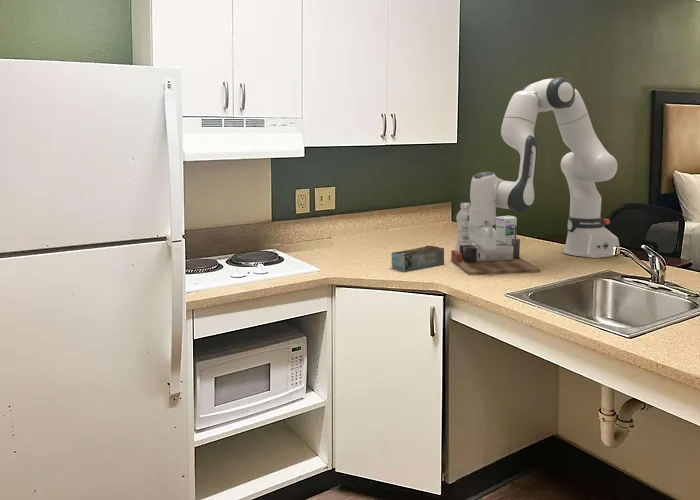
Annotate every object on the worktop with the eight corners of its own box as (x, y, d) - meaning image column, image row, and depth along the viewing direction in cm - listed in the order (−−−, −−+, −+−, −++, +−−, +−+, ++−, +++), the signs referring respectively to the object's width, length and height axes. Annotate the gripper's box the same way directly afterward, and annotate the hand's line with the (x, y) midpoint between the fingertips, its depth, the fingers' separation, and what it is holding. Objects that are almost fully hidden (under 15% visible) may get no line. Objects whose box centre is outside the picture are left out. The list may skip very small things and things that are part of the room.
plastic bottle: (473, 256, 239) (474, 204, 235) (455, 255, 240) (456, 204, 236) (473, 252, 245) (474, 202, 241) (455, 252, 246) (456, 201, 242)
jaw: (510, 258, 229) (510, 244, 228) (513, 260, 226) (513, 246, 225) (463, 260, 227) (463, 246, 226) (465, 262, 224) (466, 248, 223)
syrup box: (504, 255, 240) (505, 218, 237) (494, 252, 245) (495, 216, 242) (516, 254, 242) (517, 216, 239) (506, 251, 247) (507, 214, 244)
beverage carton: (390, 268, 222) (390, 250, 221) (430, 261, 233) (430, 243, 232) (404, 272, 216) (404, 254, 215) (445, 265, 227) (445, 247, 225)
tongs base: (516, 258, 235) (517, 237, 233) (539, 271, 213) (541, 248, 212) (451, 260, 232) (451, 239, 230) (468, 274, 211) (469, 251, 209)
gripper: (501, 223, 207) (500, 264, 209) (482, 214, 226) (481, 252, 229) (482, 224, 206) (481, 265, 209) (465, 215, 226) (464, 252, 229)
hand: (481, 258), depth 219 cm, fingers closed
